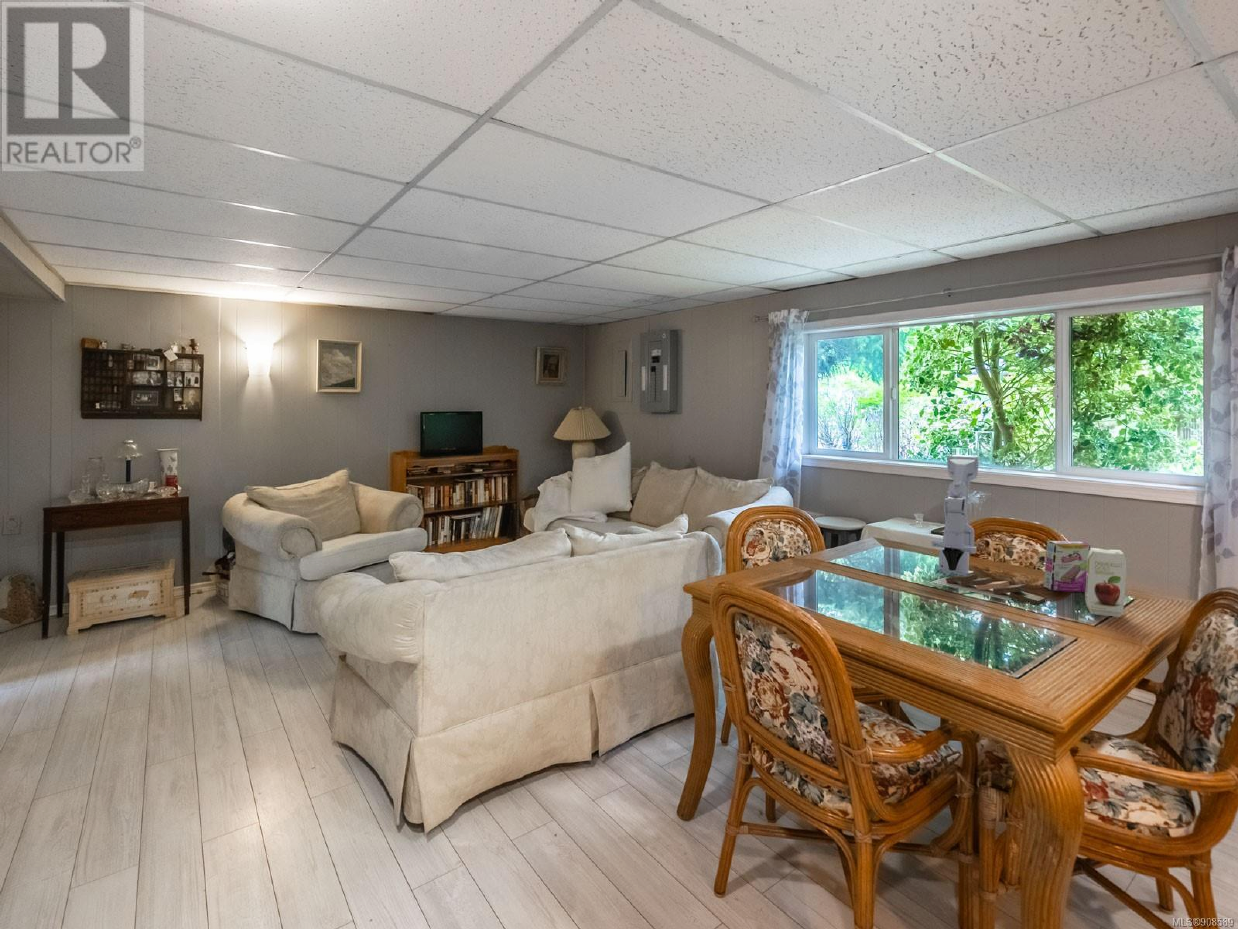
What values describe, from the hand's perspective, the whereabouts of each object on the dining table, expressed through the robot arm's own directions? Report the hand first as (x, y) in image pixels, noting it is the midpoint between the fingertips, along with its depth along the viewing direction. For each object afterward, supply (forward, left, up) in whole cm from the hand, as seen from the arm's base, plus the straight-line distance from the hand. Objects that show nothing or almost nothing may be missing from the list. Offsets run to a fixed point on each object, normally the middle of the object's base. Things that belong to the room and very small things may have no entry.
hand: (952, 569), depth 210 cm
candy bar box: (+25, +23, -5) cm, 35 cm away
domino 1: (-1, 0, -4) cm, 4 cm away
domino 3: (+9, 0, -4) cm, 10 cm away
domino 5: (+20, 0, -3) cm, 20 cm away
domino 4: (+15, 0, -4) cm, 15 cm away
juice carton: (+41, +6, -5) cm, 42 cm away
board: (+8, 0, -5) cm, 9 cm away
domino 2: (+4, 0, -4) cm, 6 cm away
